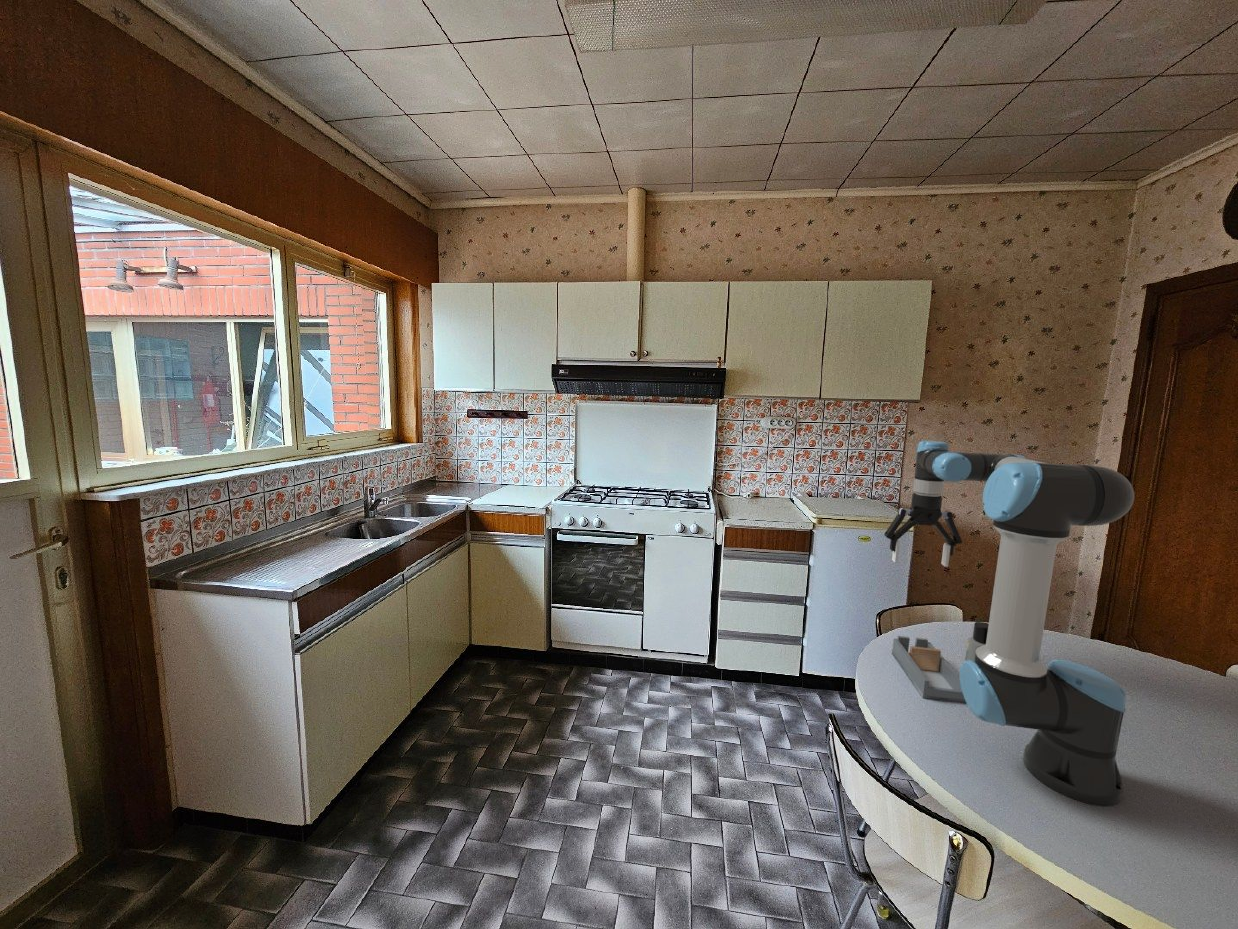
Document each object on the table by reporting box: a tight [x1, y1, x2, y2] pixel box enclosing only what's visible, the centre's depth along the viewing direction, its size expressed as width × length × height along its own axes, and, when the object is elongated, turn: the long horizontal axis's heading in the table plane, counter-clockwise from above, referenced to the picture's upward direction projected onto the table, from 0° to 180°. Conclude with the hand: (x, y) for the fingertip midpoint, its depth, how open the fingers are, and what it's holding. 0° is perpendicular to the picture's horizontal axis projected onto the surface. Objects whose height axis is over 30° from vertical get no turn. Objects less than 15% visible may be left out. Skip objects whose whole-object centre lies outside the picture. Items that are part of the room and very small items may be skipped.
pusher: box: [909, 645, 942, 671], centre depth 144 cm, size 7×7×6 cm
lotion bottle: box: [964, 621, 989, 661], centre depth 130 cm, size 6×6×20 cm
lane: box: [891, 635, 967, 704], centre depth 139 cm, size 23×10×6 cm, turn 169°
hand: (919, 563), depth 149 cm, fingers open, 13 cm apart
